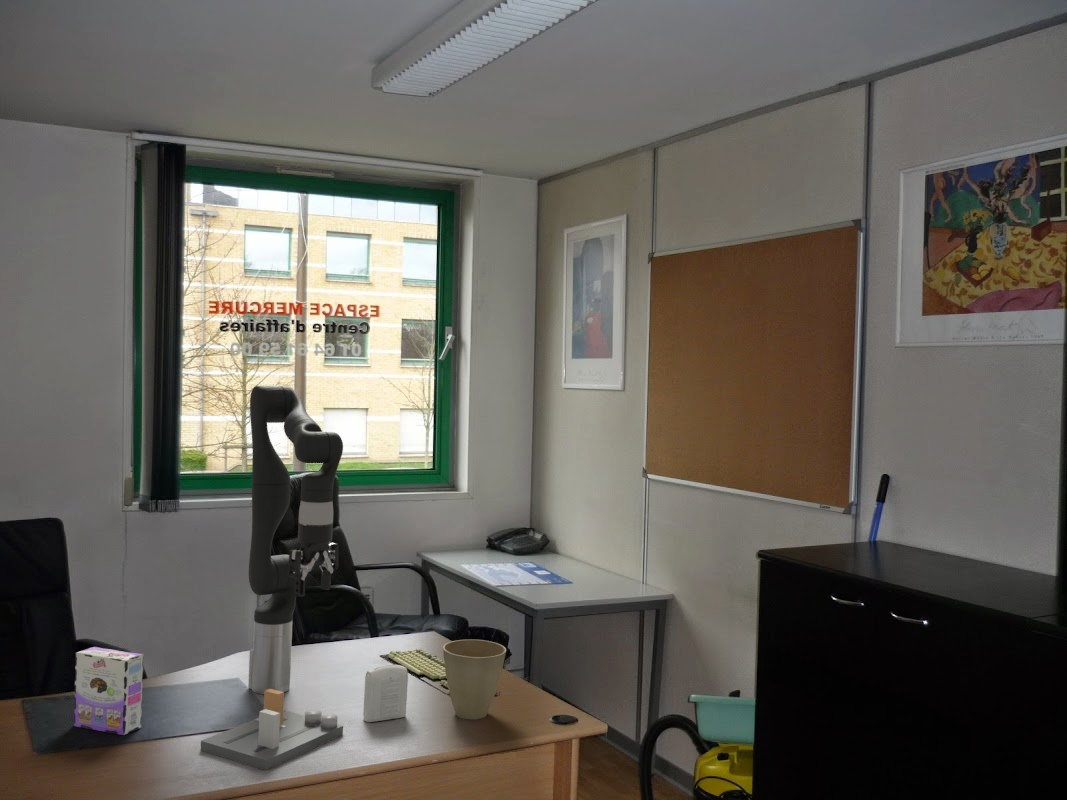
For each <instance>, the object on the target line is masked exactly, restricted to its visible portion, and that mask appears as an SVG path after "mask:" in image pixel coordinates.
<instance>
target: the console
mask: <svg viewBox="0 0 1067 800" xmlns="http://www.w3.org/2000/svg"><path fill="white" fill-rule="evenodd" d="M258 715H259V716H258V717H257V718H255V719H252V720H250V721H248V722H244V723H242V724H240V725H238V726H236V727H232V728H229V729H227V730H225V731H222V732H220V733H217V734H215V735H213V736H210V737H208V738H207V737H206V738H205V739H203V740H200V751H202V752H205V753H208V754H211V755H215V756H218V757H222V758H225V759H227V760H231V761H235V762H238V763H241V764H245V765H248V766H251V767H254V768H258V769H261V770H264V771H267V770H269V769H272V768H273V767H276V766H278V765H281V764H283V763H285V762H287V761H289V760H291V759H294V758H296V757H297V756H298V757H299V756H300V755H302V754H304V753H306V752H309V751H311V750H312V749H315V748H317V747H319V746H321V745H323V744H326V743H329V742H331V741H333V740H335V739H336V738H340V737H341V736H343V735H344V725H342V724H338V715H336V714H334V713H327V714H322V711H321V710H318V709H310V710H306V711H305V712H304V715H303V714H299V713H296V712H292V711H288V710H284V709H283V724H281V725H280V713H278V712H274V711H271V710H267V709H265V710H264V709H262V710H260V711H259V712H258Z"/></svg>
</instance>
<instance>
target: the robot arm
mask: <svg viewBox="0 0 1067 800" xmlns="http://www.w3.org/2000/svg"><path fill="white" fill-rule="evenodd" d="M249 397H250V398H249V416H250V417H249V418H250V428H251V445H252V447H251V450H252V459H251V460H252V465H251V466H252V467H251V468H252V471H251V473H252V474H251V536H250V537H251V538H250V539H251V541H250V550H249V559H248V561H249V562H248V581H249V582H248V583H249V586H250V589H251V591H252V592H253V593H254V594H255V595H257V596H265V595H266V596H267V595H270V597H269V598H268V599H267V600H266V601H265V602H263V603H262V604H261V605H259V606H258V607H257V608H255V610H254V614H253V615H254V616H253V637H252V639H253V642H252V649H250V650H249V661H248V662H249V663H248V665H249V666H248V689H250V690H251V691H252V692H254V693H256V694H260V695H264V691H265V690H268V689H273V690H277V691H281V692H284V693H285V692H288V691H289V690H290V688H291V687H290V686H291V668H292V667H291V664H292V663H291V662H292V639H293V617H294V612H295V609H296V606H297V605H296V604H297V602H296V601H297V597H299V598H302V597H305V596H306V577H307V575H308V574H309V573H310V572H311V571H312V569H313V568H315V567H318V568H320V571H321V573H320V574H321V575H320V589H321V590H323V591H324V590H325V591H329V590H330V589H331V586H332V574H333V573H334V571H335V570H339V558H340V557H339V550H340V549H339V543H335V542H332V541H333V529H334V526H333V525H334V506H333V501H334V500H333V498H334V483H335V479H336V475H337V472H338V467H339V465H340V461H341V458H342V455H343V452H344V442H343V440H342V437H341V436H340V435H339V433H337V432H334V431H323V430H322V428H321V427H320V425H319V424H318V423H317V422H316V421H315V420H314V419H313V418H312V417H311V416H310V415H309V414H308V412H307V409H305V406H304V404H303V402H302V400H301V398H300V396H299V394H298V393H297V391H296V390H295V389H294V388H293V387H291V386H288V385H271V384H270V385H266V384H265V385H264V384H263V385H261V384H260V385H259V384H258V385H255V386H254V387H253V388H252V390H251V393H250V396H249ZM272 423H273V424H274V423H275V424H276V423H280V424H281V423H282V424H283V431H284V433H285V437H287V439H288V440H289V441H290V442H291V443H292V444H293V447H294V454H295V457H296V459H297V460H298V461H299V462H301V463H304V464H322V465H321V466H320V469H319V470H317V471H315V472H312V473H308V474H305V475H304V476H302V478H301V482H300V483H301V484H300V503H299V504H300V505H299V509H298V525H297V526H298V530H297V541H298V542H299V543H300V548H299V550H297V549H291V550H289V554H276V555H272V547H273V545H272V544H273V539H274V536H275V533H276V531H277V529H278V527H279V526H280V523H281V522H282V520H283V518H284V517H285V514H286V513H287V510H288V509H289V506H290V503H291V476H290V472H289V470H288V468H287V467H286V464H285V463H284V461H282V459H281V457H280V456H279V454H278V452H277V451H276V449H275V448H274V446H273V444H272V442H271V438H270V434H269V431H268V424H272Z"/></svg>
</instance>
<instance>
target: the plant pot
mask: <svg viewBox="0 0 1067 800" xmlns="http://www.w3.org/2000/svg"><path fill="white" fill-rule="evenodd" d="M442 651H443V652H442V653H443V662H444V664H445V672H446V678H447V680H446V681H447V684H448V688H447V689H448V690H449V693H450V694H449V693H448V694H449V695H450V696H449V697H450V700H451V704H452V707H453V711H454V713H455V715H456V716H457V717H458V718H461V719H465V720H481V719H483V718H485V717H486V716H487V714H488V712H489V711H490V710H489V709H490V708H491V706H492V702H493V700H494V697H495V696H496V693H495V692H496V690H497V689H498V686H499V683H500V679H501V677H502V673H503V668H504V662H505V658H506V653H507V648H506V647H505V646H504V645H502V644H500V643H498V642H493V641H491V640H490V641H489V640H484V639H459V640H457V639H456V640H453V641H449V642H447V643H445V644H444V645H443V646H442Z"/></svg>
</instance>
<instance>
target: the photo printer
mask: <svg viewBox="0 0 1067 800" xmlns="http://www.w3.org/2000/svg"><path fill="white" fill-rule="evenodd" d="M364 678H365V679H364V695H363V696H364V697H363V712H362V713H363V714H362V715H363V721H365V722H367V723H372V722H373V723H374V722H380V721H388V720H392V719H393V720H394V719H400V718H405V717H406V716H407V701H408V682H409V681H408V680H409V673H408V672H407V669H406V668H405V667H404V666H401V665H394V664H392V663H391V664H383V665H378V666H376V667H373V668H370V669H369V670H367V671H366V673H365V676H364Z"/></svg>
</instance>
